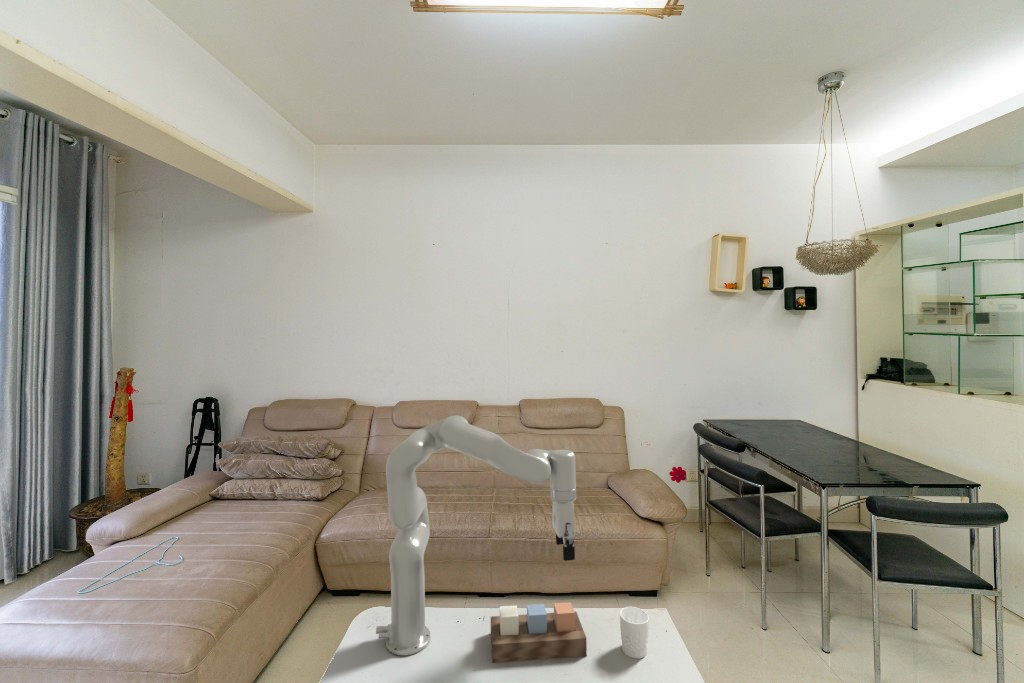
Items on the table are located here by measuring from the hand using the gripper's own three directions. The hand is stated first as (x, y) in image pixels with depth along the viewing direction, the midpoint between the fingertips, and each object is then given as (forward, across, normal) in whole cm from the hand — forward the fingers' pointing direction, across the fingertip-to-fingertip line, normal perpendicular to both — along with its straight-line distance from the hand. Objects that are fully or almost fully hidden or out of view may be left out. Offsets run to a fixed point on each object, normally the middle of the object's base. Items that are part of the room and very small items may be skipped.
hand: (565, 551), depth 128 cm
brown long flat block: (+25, +2, -10) cm, 27 cm away
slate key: (+21, +2, -9) cm, 23 cm away
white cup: (+26, +7, +17) cm, 32 cm away
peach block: (+21, +2, -1) cm, 22 cm away
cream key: (+21, +1, -17) cm, 27 cm away
